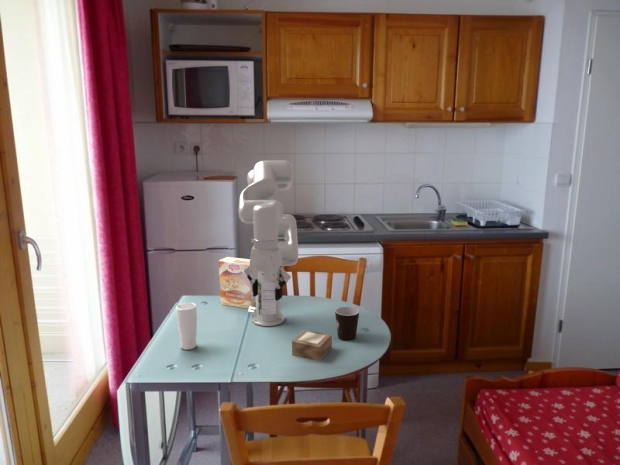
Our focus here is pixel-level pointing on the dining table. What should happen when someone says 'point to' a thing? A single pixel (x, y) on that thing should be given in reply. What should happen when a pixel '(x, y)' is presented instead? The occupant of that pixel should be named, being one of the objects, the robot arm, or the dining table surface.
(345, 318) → the coffee mug
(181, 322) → the drinking glass
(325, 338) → the pedestal
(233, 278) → the coffeecake box
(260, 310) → the syrup box
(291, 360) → the dining table surface
